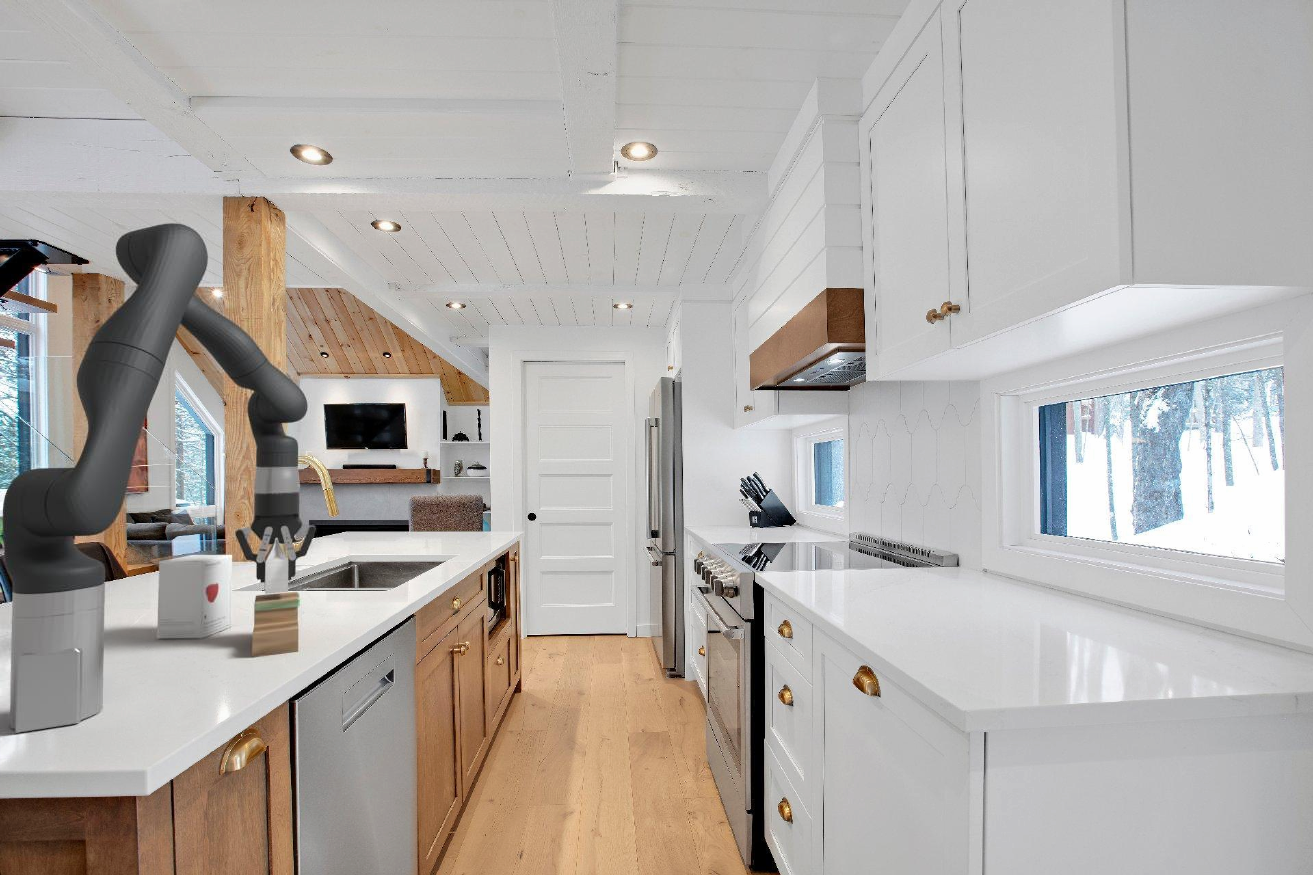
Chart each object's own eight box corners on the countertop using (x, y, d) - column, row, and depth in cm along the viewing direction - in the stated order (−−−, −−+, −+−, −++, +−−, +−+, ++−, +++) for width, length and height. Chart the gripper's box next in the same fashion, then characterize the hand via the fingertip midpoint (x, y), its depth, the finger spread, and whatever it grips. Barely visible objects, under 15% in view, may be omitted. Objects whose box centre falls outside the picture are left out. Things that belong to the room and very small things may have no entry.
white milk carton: (286, 585, 130) (286, 534, 130) (288, 591, 124) (288, 538, 124) (264, 587, 128) (264, 536, 128) (265, 593, 122) (265, 539, 122)
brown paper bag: (300, 650, 118) (300, 605, 118) (252, 657, 114) (252, 610, 115) (298, 631, 131) (298, 591, 131) (255, 637, 127) (256, 595, 128)
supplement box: (201, 639, 126) (202, 560, 127) (155, 639, 126) (156, 561, 127) (233, 627, 135) (233, 553, 136) (189, 627, 135) (190, 554, 136)
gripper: (231, 492, 120) (230, 587, 119) (319, 490, 127) (318, 580, 126) (234, 491, 126) (233, 581, 126) (317, 488, 133) (317, 574, 133)
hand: (276, 580), depth 126 cm, fingers closed on white milk carton, 3 cm apart
